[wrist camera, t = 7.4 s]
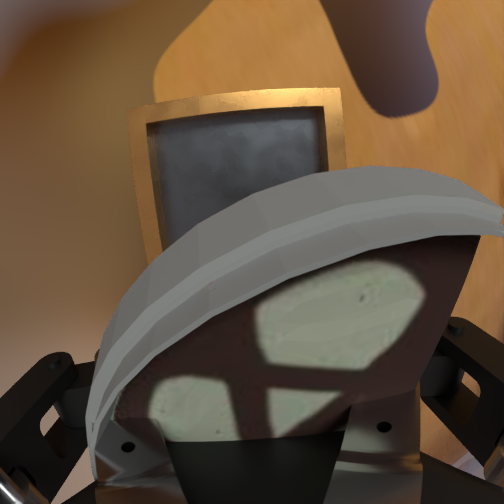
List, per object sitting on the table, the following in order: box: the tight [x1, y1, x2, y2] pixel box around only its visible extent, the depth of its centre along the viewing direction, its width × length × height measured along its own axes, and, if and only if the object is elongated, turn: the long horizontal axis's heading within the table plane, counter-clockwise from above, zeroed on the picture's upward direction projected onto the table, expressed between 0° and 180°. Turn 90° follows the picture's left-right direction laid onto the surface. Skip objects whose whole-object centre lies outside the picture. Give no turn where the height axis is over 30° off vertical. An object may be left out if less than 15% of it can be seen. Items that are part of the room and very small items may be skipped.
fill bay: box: [127, 88, 347, 266], centre depth 28 cm, size 17×21×4 cm
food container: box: [85, 166, 504, 481], centre depth 9 cm, size 12×6×10 cm, turn 168°
